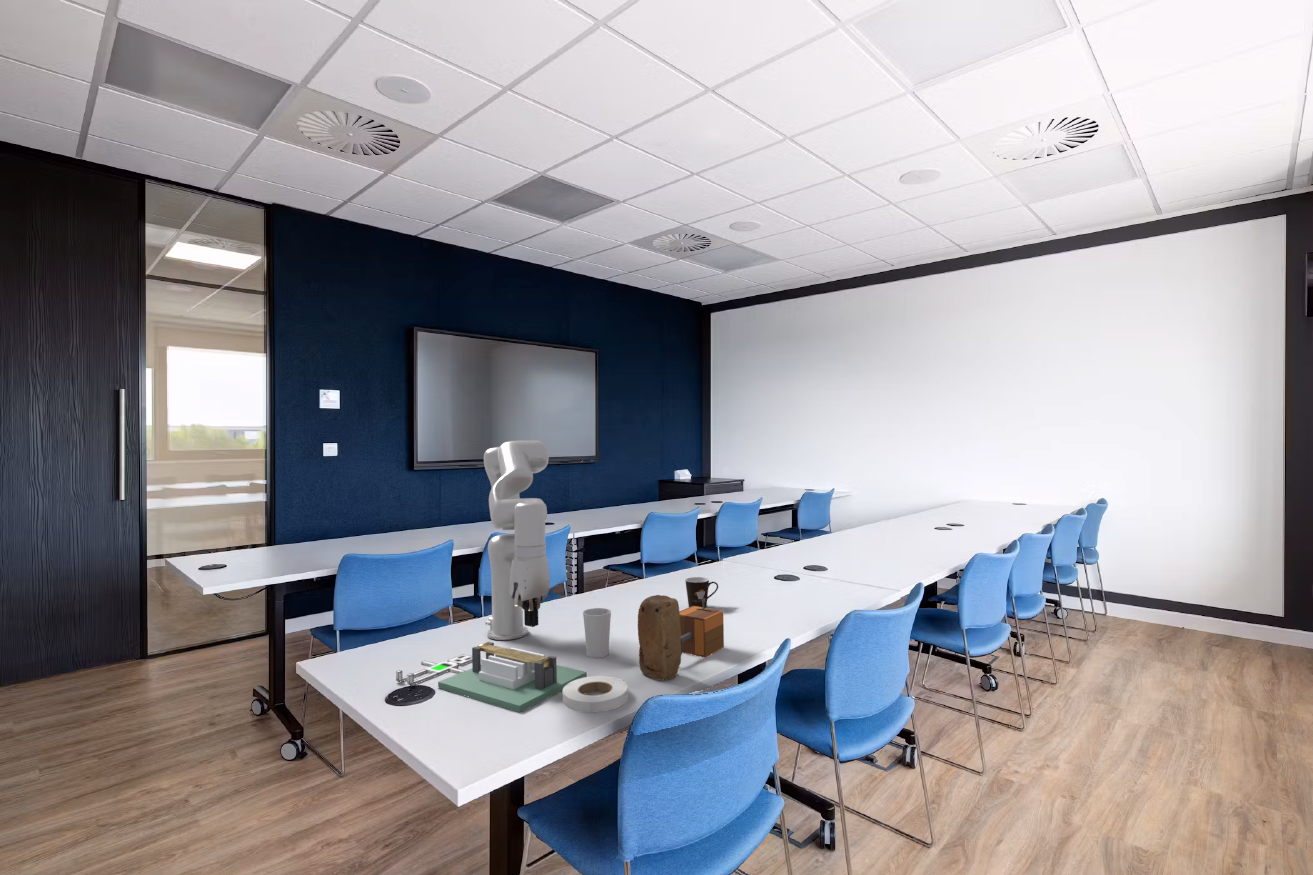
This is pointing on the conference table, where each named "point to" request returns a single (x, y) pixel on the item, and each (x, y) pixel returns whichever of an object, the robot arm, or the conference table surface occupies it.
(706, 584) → the coffee mug
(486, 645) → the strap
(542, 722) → the conference table surface
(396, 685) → the conference table surface
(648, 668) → the block
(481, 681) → the motherboard
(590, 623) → the cup
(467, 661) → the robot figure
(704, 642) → the clamp
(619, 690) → the roll of tape
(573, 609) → the conference table surface
